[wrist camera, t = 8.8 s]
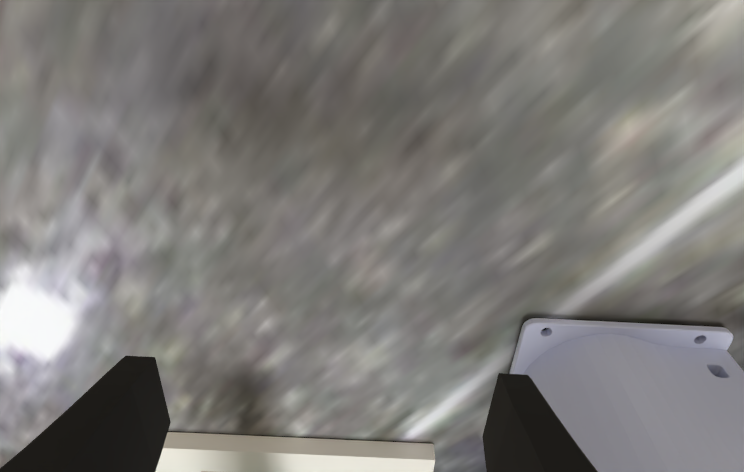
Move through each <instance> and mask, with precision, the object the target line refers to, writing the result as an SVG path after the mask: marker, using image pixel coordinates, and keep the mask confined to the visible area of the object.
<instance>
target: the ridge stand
mask: <svg viewBox="0 0 744 472" xmlns="http://www.w3.org/2000/svg"><path fill="white" fill-rule="evenodd" d="M434 464H435V453H434V444H427V443H404V442H382V441H360V440H337V439H315V438H292V437H270V436H248V435H225V434H203V433H181V432H167V436H166V439H165V443H164V446H163V449H162V452H161V456H160V459H159V462H158V465H157V468H156V471H155V472H201V471H216V472H433V469H434Z"/></svg>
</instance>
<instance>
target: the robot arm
mask: <svg viewBox="0 0 744 472" xmlns="http://www.w3.org/2000/svg"><path fill="white" fill-rule="evenodd" d="M544 328H549V329H547V330H544V331H542V329H544ZM698 336H699V337H698ZM696 337H697V338H696ZM732 340H733V334H732V333H731V332H730V331H729V330H728V329H727V328H724V327H709V326H688V325H668V324H647V323H627V322H606V321H585V320H565V319H544V318H532V319H529V320H527V321H526V322H524V324H523V326H522V329H521V333H520V337H519V340H518V344H517V348H516V351H515V355H514V359H513V362H512V366H511V370H510V373H509V374H500V373H499V375H498V379H497V383H496V387H495V390H494V394H493V398H492V402H491V406H490V410H489V414H488V418H487V421H486V425H485V429H484V433H483V443H484V452H485V461H486V469H487V472H744V371H743V370H742V369H741V367H740V366H739V365H738V364H737V362H736V361H735V360H734V359H733V358H732V356H731V355H730V354H729V353H728V351H727V349H728V347H729V346H730V344H731V342H732ZM169 426H170V418H169V414H168V410H167V406H166V402H165V397H164V393H163V389H162V385H161V381H160V377H159V372H158V368H157V364H156V360H155V357H138V356H125V357H124V358H123V359H121V360H120V361H119V362H118V363H117V364H116V365H115V366H114V367H113V368H112V369H110V370H109V371H108V372H107V373H106V374H105V375H104V376H103V377H102V378H101V379H100V380H99V381H98V382H97V383H95V384H94V385H93V386H92V387H91V388H90V389H89V390H88V391H87V392H86V393H85V394H84V395H83V396H82V397H81V398H79V399H78V400H77V401H76V402H75V403H74V404H73V405H72V406H71V407H70V408H69V409H68V410H67V411H65V412H64V413H63V414H62V415H61V416H60V417H59V418H58V419H57V420H55V421H54V422H53V423H52V424H51V425H50V426H49V427H48V428H47V429H45V430H44V431H43V432H42V433H41V434H40V435H39V436H38V437H37V438H35V439H34V440H33V441H32V442H31V443H30V444H29V445H28V446H26V447H25V448H24V449H23V450H22V451H21V452H19V453H18V454H17V455H16V456H15V457H13V458H12V459H11V460H10V461H9V462H7V463H6V464H5V465H4V466H3V467H1V468H0V472H155V471H156V468H157V465H158V462H159V459H160V456H161V452H162V449H163V446H164V443H165V439H166V436H167V432H168V429H169Z"/></svg>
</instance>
